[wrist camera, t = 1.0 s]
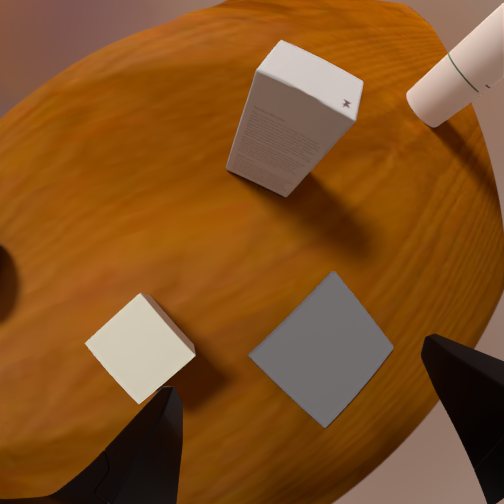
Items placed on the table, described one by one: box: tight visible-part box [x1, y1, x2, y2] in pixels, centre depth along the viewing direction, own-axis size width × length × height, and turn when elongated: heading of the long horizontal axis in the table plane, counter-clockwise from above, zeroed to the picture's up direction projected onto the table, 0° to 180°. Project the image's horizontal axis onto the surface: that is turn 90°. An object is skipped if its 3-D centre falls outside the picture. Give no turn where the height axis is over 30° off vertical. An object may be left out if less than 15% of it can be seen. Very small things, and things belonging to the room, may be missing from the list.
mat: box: [248, 271, 394, 428], centre depth 22 cm, size 10×10×1 cm
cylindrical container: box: [407, 3, 504, 128], centre depth 21 cm, size 7×7×25 cm
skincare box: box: [226, 40, 363, 197], centre depth 19 cm, size 6×4×12 cm
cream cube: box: [85, 293, 196, 404], centre depth 18 cm, size 5×5×5 cm
